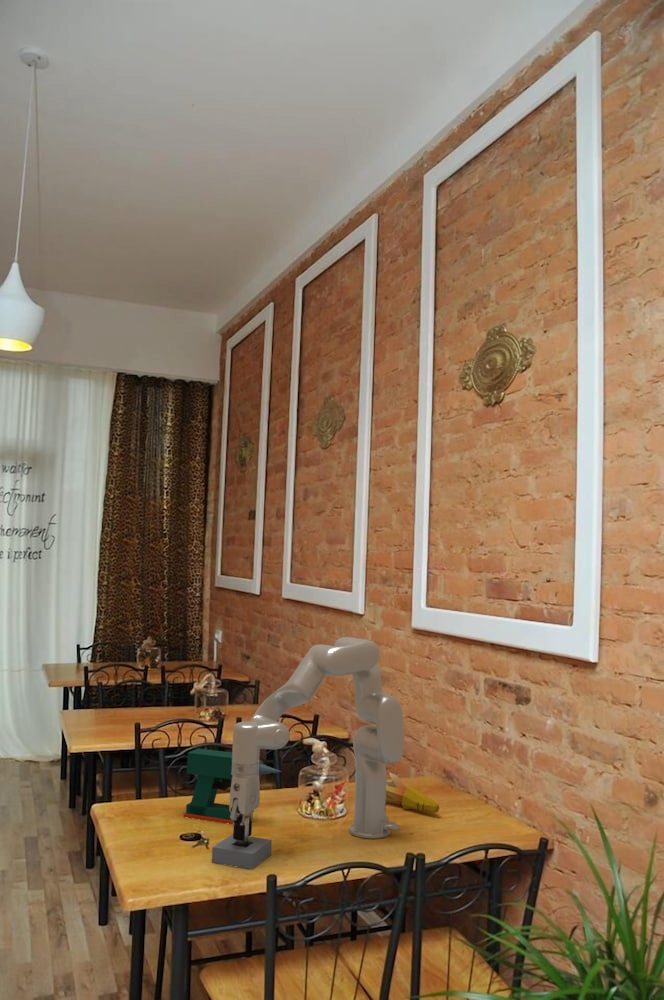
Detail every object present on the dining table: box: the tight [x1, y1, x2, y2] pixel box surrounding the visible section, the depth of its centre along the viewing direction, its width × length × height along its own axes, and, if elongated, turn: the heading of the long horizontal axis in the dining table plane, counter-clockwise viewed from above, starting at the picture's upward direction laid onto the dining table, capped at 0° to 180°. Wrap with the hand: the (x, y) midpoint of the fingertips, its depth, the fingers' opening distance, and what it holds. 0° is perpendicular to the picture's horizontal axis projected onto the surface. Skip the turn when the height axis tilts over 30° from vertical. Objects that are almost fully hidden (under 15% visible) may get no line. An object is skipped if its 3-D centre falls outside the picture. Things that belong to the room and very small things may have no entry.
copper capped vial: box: [236, 811, 250, 847], centre depth 218 cm, size 4×4×11 cm
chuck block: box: [211, 833, 273, 871], centre depth 218 cm, size 12×12×4 cm
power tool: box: [183, 748, 283, 825], centre depth 250 cm, size 32×7×20 cm, turn 71°
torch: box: [386, 772, 440, 814], centre depth 268 cm, size 8×8×25 cm
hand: (242, 836), depth 218 cm, fingers closed on copper capped vial, 3 cm apart
